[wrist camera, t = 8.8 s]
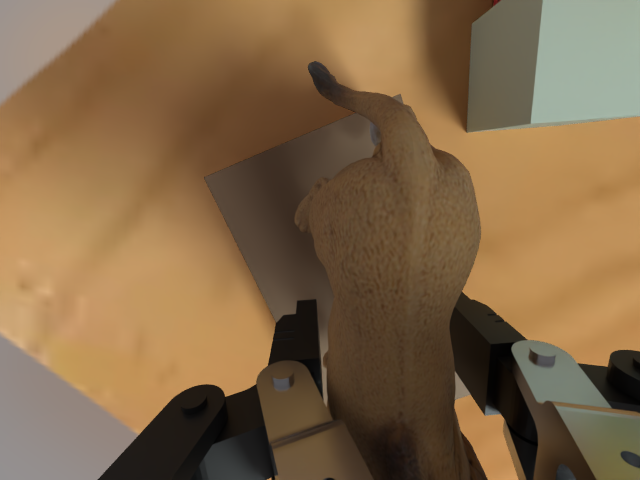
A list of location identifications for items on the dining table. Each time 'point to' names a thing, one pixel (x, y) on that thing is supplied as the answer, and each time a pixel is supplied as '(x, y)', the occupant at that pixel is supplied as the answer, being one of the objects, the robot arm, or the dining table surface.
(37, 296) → the dining table surface
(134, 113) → the dining table surface
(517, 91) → the sage cube
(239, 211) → the taupe rectangular block
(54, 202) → the dining table surface
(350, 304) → the lion figurine
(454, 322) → the robot arm
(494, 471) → the dining table surface
